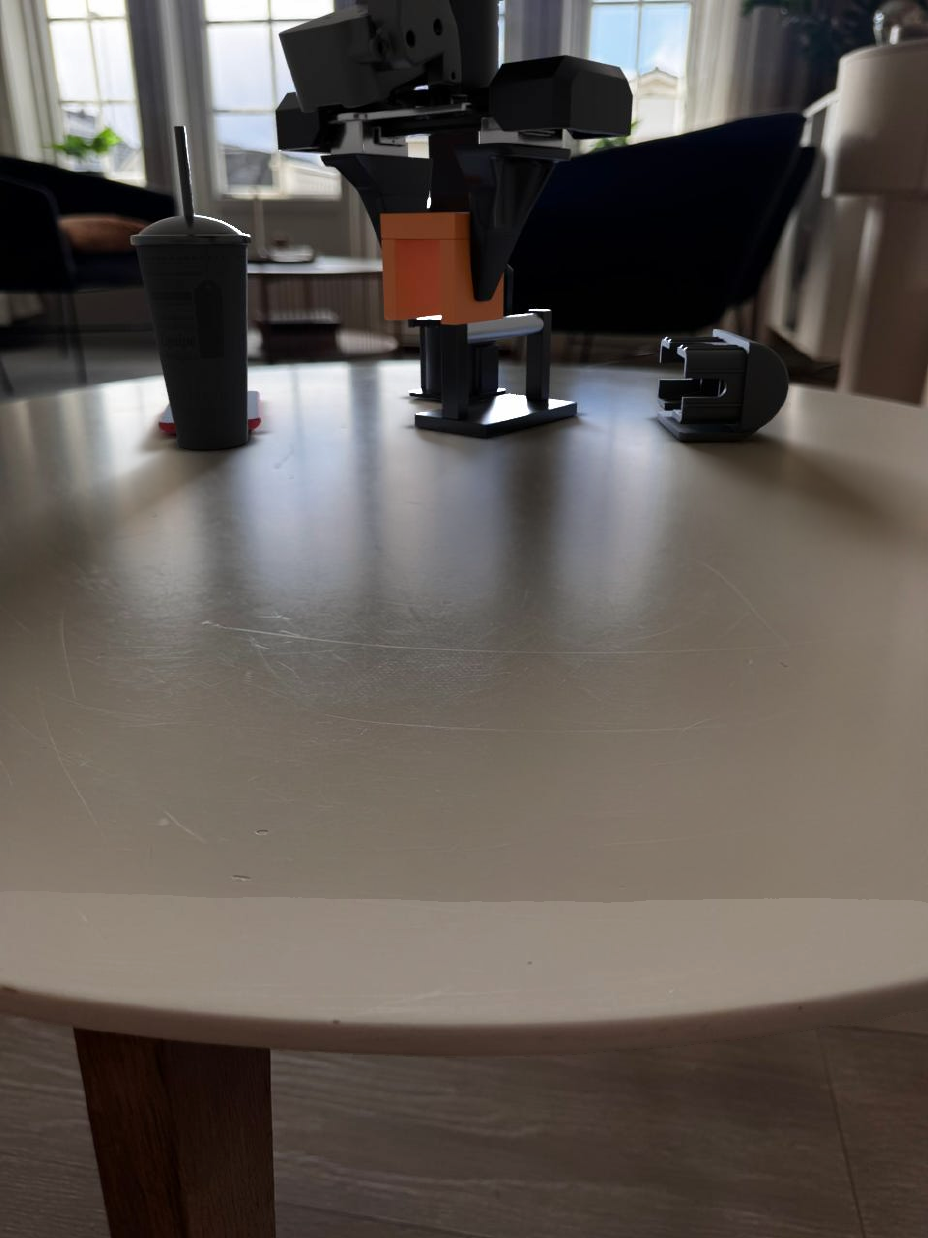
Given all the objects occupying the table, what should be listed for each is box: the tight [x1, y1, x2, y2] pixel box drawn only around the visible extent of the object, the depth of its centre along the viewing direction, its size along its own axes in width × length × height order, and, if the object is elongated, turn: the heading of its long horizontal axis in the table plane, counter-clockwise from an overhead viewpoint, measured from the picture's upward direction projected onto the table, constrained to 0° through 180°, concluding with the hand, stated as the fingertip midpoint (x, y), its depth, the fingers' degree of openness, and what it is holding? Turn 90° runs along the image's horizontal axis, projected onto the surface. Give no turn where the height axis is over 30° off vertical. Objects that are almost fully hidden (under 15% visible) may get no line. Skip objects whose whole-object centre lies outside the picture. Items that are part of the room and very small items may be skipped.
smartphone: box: [158, 390, 262, 435], centre depth 75 cm, size 7×1×15 cm
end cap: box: [656, 328, 790, 443], centre depth 68 cm, size 10×7×7 cm
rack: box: [414, 308, 578, 439], centre depth 71 cm, size 7×12×8 cm, turn 141°
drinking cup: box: [129, 125, 252, 451], centre depth 62 cm, size 8×8×20 cm
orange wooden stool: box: [380, 212, 504, 325], centre depth 48 cm, size 5×4×5 cm
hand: (443, 298), depth 49 cm, fingers closed on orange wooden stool, 5 cm apart
